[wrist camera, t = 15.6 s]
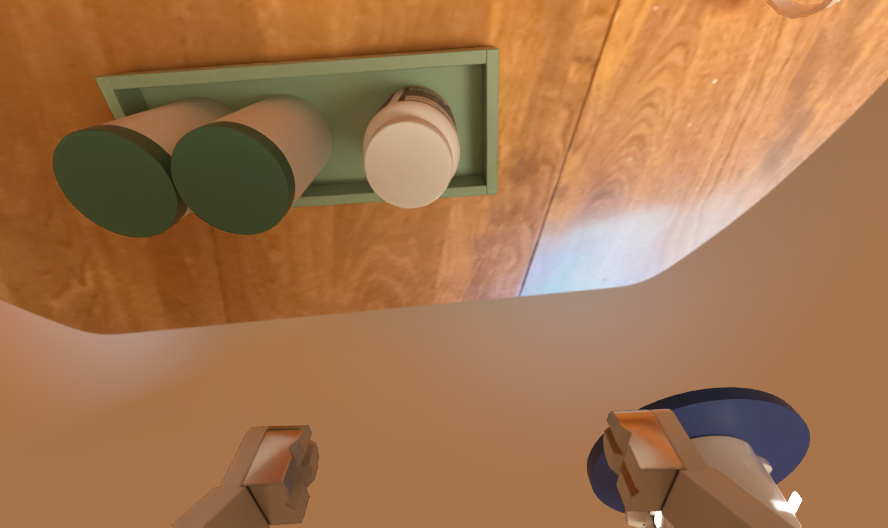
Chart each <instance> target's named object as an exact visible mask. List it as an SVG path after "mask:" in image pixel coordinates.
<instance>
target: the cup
mask: <svg viewBox="0 0 888 528" xmlns="http://www.w3.org/2000/svg"><path fill="white" fill-rule="evenodd" d="M766 1H767V3H768V4H769V5H770V6H771V7H772V8H773V9H774V10H775V11H776V12H777V13H778V14H780V15H783V16H786V17H789V18H791V19H792V18H799V17H806V16H809V15H811V14H814V13H817V12H819V11H822V10H824V9H826V8H828V7H830V6H832V5H834V4H836V3H838V2H840V1H841V0H825V1H824V2H823V3H820V4H815V5H810V6H804V5H801V4H798V3H795V2H793V1H792V0H766Z"/></svg>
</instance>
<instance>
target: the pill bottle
mask: <svg viewBox="0 0 888 528" xmlns="http://www.w3.org/2000/svg"><path fill="white" fill-rule="evenodd" d="M363 153H364V170H365V174H366V178H367V180H368V182H369V184H370V186H371V188H372V189H373V190H374V192H375V193H376V194H377V195H378V196H379V197H380V198H382V199H383V200H384V201H386V202H388V203H389V204H391V205H394V206H397V207H401V208H419V207H423V206H426V205H428V204H430V203H432V202H434V201H435V200H437V199H438V198H439V197H440V196H441V195H442V194H443V193H444V191H445V190H446V188H447V187H448V184H449V182H450V180H451V179H452V177H453V176H454V174H455V172H456V170H457V168H458V165H459V159H460V143H459V139H458V134H457V129H456V123H455V119H454V116H453V113H452V110H451V109H450V107H449V105H448V104H447V102H446V101H445V100H444V99H443V98H442V97H441V96H440V95H439V94H437V93H436V92H434V91H432V90H430V89H428V88H424V87H419V86H413V87H406V88H403V89H400V90H398V91H396V92H395V93H393V94H392V95H391V96H390V97H388V98H387V100H385V102H384V103H383V104H382V106H381V107H380V109H379V110H378V111H377V113H376V114H375V115H374V117H373V118H372V119H371V121H370V123H369V125H368V126H367V129H366V131H365V134H364V140H363Z"/></svg>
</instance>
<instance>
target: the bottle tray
mask: <svg viewBox="0 0 888 528" xmlns="http://www.w3.org/2000/svg"><path fill="white" fill-rule="evenodd" d="M95 80H96V82H97V84H98V86H99V88H100V90H101V92H102V94H103V96H104V98H105V100H106V102H107V104H108V106H109V108H110V110H111V112H112V114H113V116H114V118H115V120H116V119H120V118H123V117H126V116H130V115H133V114H136V113H140V112H143V111H147V110H150V109H153V108H157V107H160V106H164V105H167V104H170V103H174V102H177V101H181V100H184V99H187V98H192V97H205V98H209V99H213V100H215V101H218V102H220V103H222V104H224V105H225V106H227V107H228V108H230V109H231V110H232V111H233V112H236V111H238V110H240V109H243V108H245V107H247V106H250V105H252V104H254V103H257V102H259V101H261V100H264V99H266V98H268V97H271V96H274V95H282V94H285V95H292V96H296V97H299V98H301V99H303V100H305V101H307V102H309V103H310V104H312V105H313V106H314V107H315V108H316V109H317V110H318V111H319V112H320V113H321V114H322V116H323V117H324V118H325V120H326V122H327V124H328V126H329V128H330V131H331V135H332V142H333V145H332V153H331V156H330V158H329V160H328V162H327V164H326V165H325V166H324V167H323V169H322V170H321V171H320V172H319V174H318V175H317V176H316V177H315V179H314V180H313V181H312V182H311V184H310V185H309V186H308V187H307V188H306V190H305V191H304V192H303V193H302V195H301V196H300V197H299V198H298V200H297V201H296V202H295V203H294V205H293V206H292V207H305V206H321V205H337V204H353V203H370V202H386V201H384V200H383V199H382V198H380V197H379V196H378V195H377V194H376V193H375V192H374V190H373V189H372V188H371V186H370V184H369V182H368V180H367V178H366V174H365V170H364V153H363V140H364V134H365V131H366V129H367V126H368V125H369V123H370V121H371V119H372V118H373V117H374V115H375V114H376V113H377V111H378V110H379V109H380V107H381V106H382V104H383V103H384V102H385V100H387V98H388V97H390V96H391V95H392V94H393V93H395V92H396V91H398V90H400V89H403V88H406V87H413V86H419V87H424V88H428V89H430V90H432V91H434V92H436V93H437V94H439V95H440V96H441V97H442V98H443V99H444V100H445V101H446V102H447V104H448V105H449V107H450V109H451V110H452V113H453V116H454V119H455V123H456V129H457V134H458V139H459V143H460V159H459V165H458V168H457V170H456V172H455V174H454V176H453V177H452V179H451V180H450V182H449V184H448V187H447V188H446V190H445V191H444V193H443V194H442V195H441V196H440V197H439V198H450V197H466V196H482V195H486V194H487V195H497V172H498V93H499V49H498V48H496V47H494V46H487V47H473V48H459V49H445V50H431V51H417V52H403V53H389V54H375V55H361V56H347V57H333V58H319V59H305V60H291V61H277V62H263V63H249V64H235V65H221V66H207V67H194V68H180V69H166V70H152V71H138V72H125V73H119V74H112V75H106V76H99V77H95ZM192 213H194V212H193V211H191V212H190V213H189V214H192Z"/></svg>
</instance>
